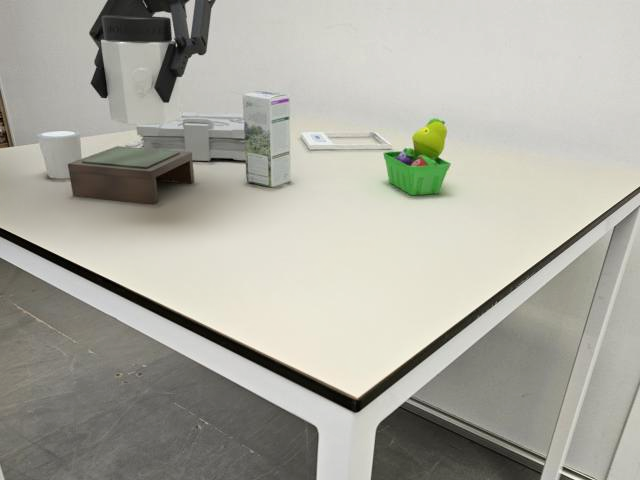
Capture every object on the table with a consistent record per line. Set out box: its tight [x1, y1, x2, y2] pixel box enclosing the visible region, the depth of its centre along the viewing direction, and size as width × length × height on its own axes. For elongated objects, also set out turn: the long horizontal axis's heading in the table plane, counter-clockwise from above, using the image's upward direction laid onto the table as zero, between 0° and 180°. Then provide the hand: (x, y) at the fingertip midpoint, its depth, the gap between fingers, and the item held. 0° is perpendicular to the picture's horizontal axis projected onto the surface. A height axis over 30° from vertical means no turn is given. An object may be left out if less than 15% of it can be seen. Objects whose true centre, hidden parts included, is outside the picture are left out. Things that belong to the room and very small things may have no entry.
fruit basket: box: [383, 117, 452, 196], centre depth 101 cm, size 11×9×11 cm
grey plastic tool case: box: [124, 111, 246, 162], centre depth 122 cm, size 19×28×8 cm
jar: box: [101, 16, 182, 126], centre depth 76 cm, size 9×8×12 cm
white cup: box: [36, 129, 83, 180], centre depth 104 cm, size 7×7×7 cm
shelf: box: [68, 145, 195, 205], centre depth 97 cm, size 14×14×5 cm
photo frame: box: [300, 131, 393, 151], centre depth 136 cm, size 15×1×18 cm
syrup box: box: [242, 90, 292, 188], centre depth 101 cm, size 6×6×14 cm
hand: (129, 93), depth 74 cm, fingers closed on jar, 8 cm apart
